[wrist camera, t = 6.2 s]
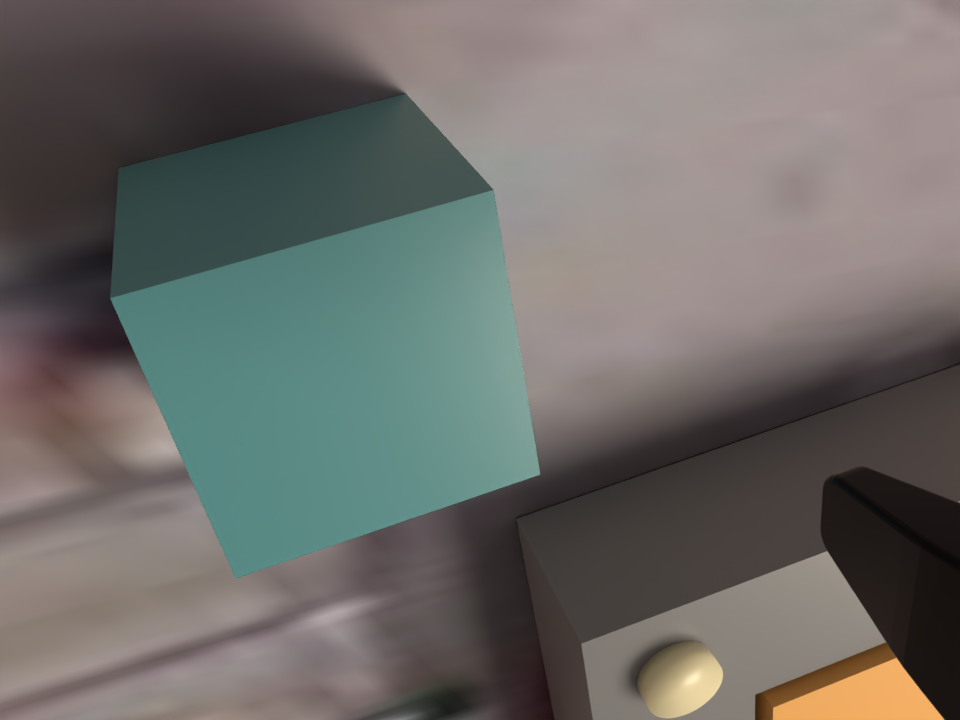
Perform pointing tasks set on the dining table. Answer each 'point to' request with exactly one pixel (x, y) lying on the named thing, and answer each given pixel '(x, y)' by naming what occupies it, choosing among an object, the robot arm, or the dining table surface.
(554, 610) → the breaker panel
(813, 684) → the breaker button
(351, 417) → the teal cube
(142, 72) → the dining table surface
